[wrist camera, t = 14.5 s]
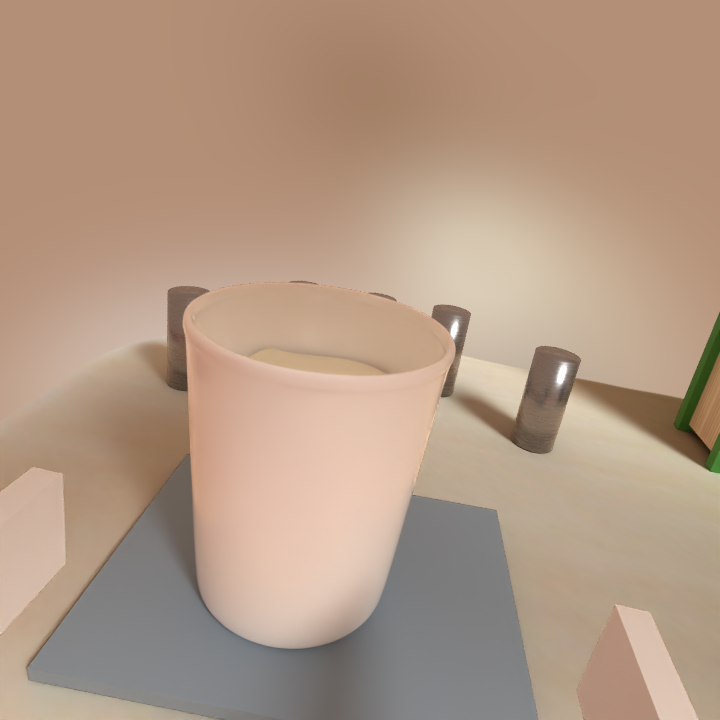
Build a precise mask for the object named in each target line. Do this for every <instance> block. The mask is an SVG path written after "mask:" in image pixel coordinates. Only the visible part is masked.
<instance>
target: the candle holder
mask: <svg viewBox="0 0 720 720" xmlns="http://www.w3.org/2000/svg"><path fill="white" fill-rule="evenodd" d="M183 329H184V333H185V340H186V358H187V383H188V408H189V433H190V458H191V483H192V508H193V531H194V552H195V567H196V577H197V583H198V588H199V591H200V594H201V597H202V599H203V601H204V603H205V605H206V607H207V608H208V610H209V611H210V612H211V614H212V615H213V616H214V617H215V618H216V619H217V620H218V621H219V622H220V623H221V624H222V625H223V626H224V627H226V628H227V629H228V630H230V631H231V632H233V633H235V634H236V635H238V636H240V637H242V638H244V639H246V640H249V641H251V642H254V643H257V644H260V645H264V646H269V647H274V648H283V649H303V648H311V647H317V646H321V645H325V644H328V643H331V642H334V641H336V640H339V639H341V638H343V637H345V636H347V635H348V634H350V633H352V632H353V631H355V630H356V629H357V628H359V627H360V626H361V625H362V624H363V623H364V622H365V621H366V620H367V619H368V618H369V617H370V615H371V614H372V613H373V611H374V610H375V608H376V607H377V605H378V603H379V601H380V598H381V596H382V593H383V591H384V588H385V585H386V582H387V579H388V575H389V572H390V569H391V566H392V562H393V559H394V556H395V552H396V549H397V545H398V542H399V539H400V535H401V532H402V528H403V525H404V521H405V518H406V514H407V511H408V508H409V504H410V501H411V497H412V494H413V490H414V487H415V483H416V480H417V476H418V473H419V470H420V466H421V463H422V459H423V456H424V452H425V449H426V445H427V442H428V438H429V435H430V432H431V428H432V425H433V421H434V418H435V414H436V411H437V407H438V404H439V400H440V397H441V394H442V390H443V387H444V383H445V380H446V377H447V374H448V371H449V368H450V366H451V364H452V362H453V360H454V356H455V350H456V348H455V342H454V339H453V337H452V336H451V334H450V333H449V332H448V330H447V329H446V328H445V327H444V326H442V325H441V324H440V323H439V322H437V321H436V320H435V319H433V318H431V317H430V316H428V315H426V314H424V313H422V312H420V311H418V310H416V309H414V308H412V307H409V306H407V305H404V304H402V303H399V302H396V301H393V300H390V299H387V298H384V297H380V296H377V295H373V294H369V293H365V292H361V291H356V290H351V289H346V288H340V287H333V286H326V285H318V284H308V283H291V282H264V283H249V284H240V285H234V286H228V287H223V288H220V289H216V290H213V291H210V292H207V293H205V294H203V295H201V296H199V297H197V298H196V299H194V300H193V301H192V302H191V303H190V304H189V305H188V306H187V308H186V309H185V312H184V315H183Z"/></svg>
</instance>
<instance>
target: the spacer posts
mask: <svg viewBox="0 0 720 720" xmlns="http://www.w3.org/2000/svg"><path fill="white" fill-rule="evenodd" d="M291 283H308V284H316V283H312V282H307V281H291ZM318 285H319V284H318ZM207 292H210V291H209V290H206V289H203V288H199V287H191V286H190V287H189V286H181V287H175V288H171V289H169V290H168V325H167V327H168V328H167V383H168V385H169V386H171V387H172V388H175V389H178V390H185V391H188V383H187V358H186V340H185V333H184V329H183V315H184V312H185V309H186V308H187V306H188V305H189V304H190V303H191V302H192V301H193V300H194V299H196V298H197V297H199V296H201V295H203V294H205V293H207ZM369 294H373V295H377V296H380V297H384V298H387V299H390V300H393V301H396V299H394V298H393V297H390V296H388V295H384V294H379V293H369ZM396 302H397V301H396ZM470 316H471V313H470V312H469V311H467V310H465V309H462V308H459V307H456V306H451V305H436V306H434V308H433V313H432V318H433V319H435V320H436V321H437V322H439V323H440V324H441V325H442V326H444V327H445V328H446V329H447V330H448V332H449V333H450V334H451V336H452V337H453V339H454V342H455V348H456V350H455V356H454V360H453V362H452V364H451V366H450V368H449V371H448V374H447V377H446V380H445V383H444V387H443V390H442V394H441V397H447V396H450V395H452V394H453V390H454V385H455V381H456V377H457V372H458V368H459V364H460V359H461V355H462V350H463V346H464V342H465V337H466V333H467V329H468V324H469V320H470ZM580 361H581V360H580V358H579V357H578V356H577V355H575V354H573V353H571V352H569V351H566V350H563V349H559V348H556V347H548V346H541V347H538V348H536V350H535V354H534V358H533V361H532V365H531V368H530V372H529V375H528V379H527V382H526V386H525V389H524V393H523V396H522V400H521V403H520V407H519V410H518V414H517V417H516V421H515V424H514V428H513V431H512V435H511V439H512V441H513V442H514V443H515V444H516V445H517V446H519V447H521V448H523V449H525V450H527V451H530V452H534V453H548V452H550V451H552V448H553V445H554V442H555V439H556V436H557V433H558V430H559V427H560V424H561V420H562V417H563V414H564V411H565V408H566V405H567V402H568V399H569V396H570V392H571V389H572V386H573V383H574V380H575V377H576V373H577V371H578V367H579V364H580Z"/></svg>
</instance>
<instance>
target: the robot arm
mask: <svg viewBox="0 0 720 720" xmlns="http://www.w3.org/2000/svg"><path fill="white" fill-rule="evenodd" d="M65 564H66V544H65V517H64V491H63V473H58V472H54V471H50V470H46V469H41V468H37V467H32V468H30V469H29V470H28V471H26V472H25V473H24V474H23V475H21V476H20V477H19V478H17V479H16V480H15V481H13V482H12V483H11V484H9V485H8V486H7V487H6V488H4V489H3V490H2V491H0V635H1V634H2V632H3V631H4V630H5V629H6V628H7V627H8V626H9V625H10V624H11V623H12V622H13V621H14V619H15V618H16V617H17V616H18V615H19V614H20V613H21V612H22V611H23V610H24V609H25V607H26V606H27V605H28V604H29V603H30V602H31V601H32V600H33V599H34V598H35V597H36V595H37V594H38V593H39V592H40V591H41V590H42V589H43V588H44V587H45V586H46V585H47V583H48V582H49V581H50V580H51V579H52V578H53V577H54V576H55V575H56V574H57V573H58V572H59V570H60V569H61V568H62V567H63V566H64V565H65ZM577 694H578V698H579V702H580V706H581V710H582V714H583V718H584V720H699V719H698V717H697V715H696V713H695V710H694V708H693V706H692V704H691V702H690V699H689V697H688V695H687V693H686V690H685V688H684V686H683V684H682V682H681V679H680V677H679V675H678V673H677V671H676V668H675V666H674V664H673V662H672V660H671V657H670V655H669V653H668V651H667V649H666V646H665V644H664V642H663V640H662V637H661V635H660V633H659V631H658V629H657V626H656V624H655V622H654V620H653V618H652V615H651V613H650V612H647V611H643V610H639V609H634V608H630V607H626V606H622V605H618V604H615V606H614V608H613V610H612V612H611V615H610V617H609V619H608V621H607V623H606V626H605V628H604V630H603V632H602V634H601V637H600V639H599V641H598V643H597V645H596V648H595V650H594V652H593V654H592V657H591V659H590V661H589V663H588V665H587V668H586V670H585V672H584V674H583V676H582V679H581V681H580V683H579V685H578V687H577Z"/></svg>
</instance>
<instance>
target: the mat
mask: <svg viewBox="0 0 720 720" xmlns="http://www.w3.org/2000/svg"><path fill="white" fill-rule="evenodd" d="M27 671H28V678H29V680H31V681H36V682H41V683H46V684H51V685H56V686H61V687H66V688H71V689H76V690H80V691H85V692H90V693H95V694H100V695H105V696H110V697H115V698H120V699H125V700H130V701H135V702H139V703H144V704H149V705H154V706H159V707H164V708H169V709H174V710H179V711H184V712H189V713H194V714H198V715H203V716H208V717H213V718H218V719H223V720H538V715H537V710H536V705H535V700H534V695H533V690H532V686H531V681H530V676H529V671H528V666H527V661H526V656H525V651H524V646H523V641H522V636H521V631H520V626H519V621H518V616H517V611H516V606H515V601H514V596H513V591H512V586H511V581H510V576H509V571H508V566H507V561H506V556H505V551H504V546H503V541H502V536H501V531H500V526H499V521H498V516H497V511H496V510H493V509H487V508H482V507H476V506H471V505H465V504H460V503H454V502H449V501H443V500H438V499H432V498H427V497H421V496H416V495H412V497H411V501H410V504H409V508H408V511H407V514H406V518H405V521H404V525H403V528H402V532H401V535H400V539H399V542H398V545H397V549H396V552H395V556H394V559H393V562H392V566H391V569H390V572H389V575H388V579H387V582H386V585H385V588H384V591H383V593H382V596H381V598H380V601H379V603H378V605H377V607H376V608H375V610H374V611H373V613H372V614H371V615H370V617H369V618H368V619H367V620H366V621H365V622H364V623H363V624H362V625H361V626H360V627H359V628H357V629H356V630H355V631H353V632H352V633H350V634H348V635H347V636H345V637H343V638H341V639H339V640H336V641H334V642H331V643H328V644H325V645H321V646H317V647H311V648H303V649H283V648H274V647H269V646H264V645H260V644H257V643H254V642H251V641H249V640H246V639H244V638H242V637H240V636H238V635H236V634H235V633H233V632H231V631H230V630H228V629H227V628H226V627H224V626H223V625H222V624H221V623H220V622H219V621H218V620H217V619H216V618H215V617H214V616H213V615H212V614H211V612H210V611H209V610H208V608H207V607H206V605H205V603H204V601H203V599H202V597H201V594H200V591H199V588H198V583H197V577H196V567H195V552H194V531H193V508H192V483H191V458H190V454H187V455H186V457H185V458H184V459H183V461H182V462H181V463H180V465H179V466H178V467H177V469H176V470H175V471H174V473H173V474H172V475H171V477H170V478H169V479H168V481H167V482H166V483H165V485H164V486H163V487H162V489H161V490H160V491H159V493H158V494H157V495H156V497H155V498H154V499H153V501H152V502H151V503H150V505H149V506H148V507H147V509H146V510H145V511H144V513H143V514H142V515H141V517H140V518H139V519H138V521H137V522H136V523H135V525H134V526H133V527H132V529H131V530H130V531H129V533H128V534H127V535H126V537H125V538H124V539H123V541H122V542H121V543H120V545H119V546H118V547H117V549H116V550H115V551H114V553H113V554H112V555H111V557H110V558H109V559H108V561H107V562H106V563H105V565H104V566H103V567H102V569H101V570H100V571H99V573H98V574H97V575H96V577H95V578H94V579H93V581H92V582H91V583H90V585H89V586H88V587H87V589H86V590H85V591H84V593H83V594H82V595H81V597H80V598H79V599H78V601H77V602H76V603H75V605H74V606H73V607H72V609H71V610H70V611H69V613H68V614H67V615H66V617H65V618H64V619H63V621H62V622H61V623H60V625H59V626H58V627H57V629H56V630H55V631H54V633H53V634H52V635H51V637H50V638H49V639H48V641H47V642H46V643H45V645H44V646H43V647H42V649H41V650H40V651H39V653H38V654H37V655H36V657H35V658H34V659H33V661H32V662H31V663H30V665H29V666H28V667H27Z"/></svg>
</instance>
